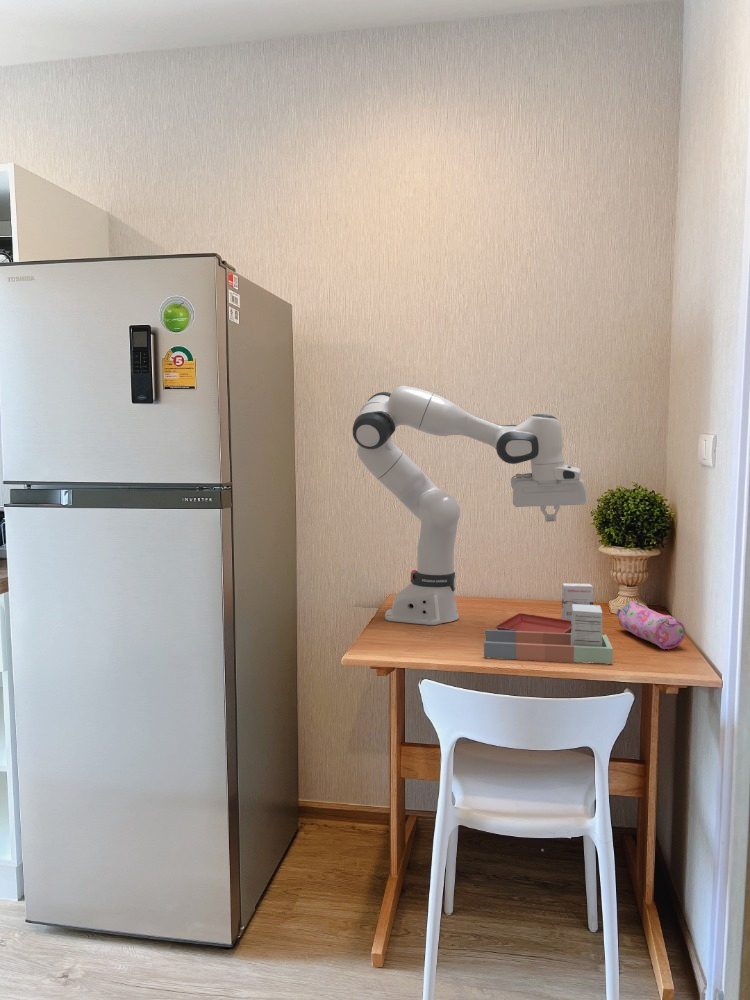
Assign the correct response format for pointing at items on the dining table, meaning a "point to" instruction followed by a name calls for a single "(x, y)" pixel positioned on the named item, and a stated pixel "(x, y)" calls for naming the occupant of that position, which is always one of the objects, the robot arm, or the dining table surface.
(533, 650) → the channel
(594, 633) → the supplement box
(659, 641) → the pencil case
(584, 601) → the ink box
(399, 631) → the dining table surface
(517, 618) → the plant saucer
